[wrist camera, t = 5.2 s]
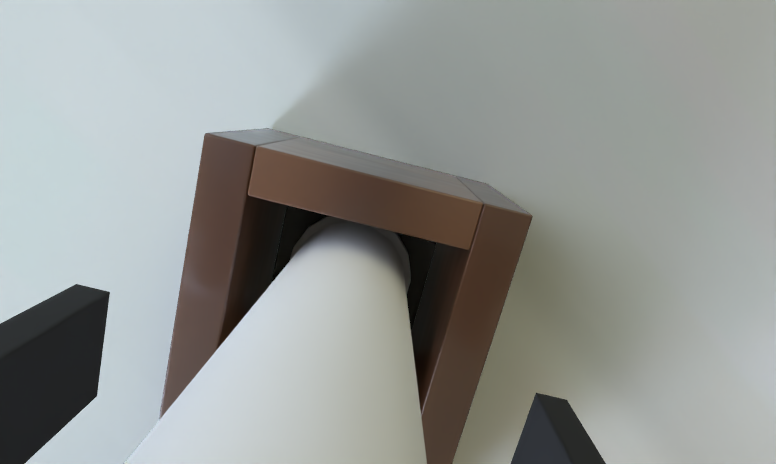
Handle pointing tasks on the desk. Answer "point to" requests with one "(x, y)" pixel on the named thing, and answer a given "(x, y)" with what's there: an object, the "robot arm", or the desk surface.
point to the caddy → (361, 205)
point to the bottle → (309, 366)
